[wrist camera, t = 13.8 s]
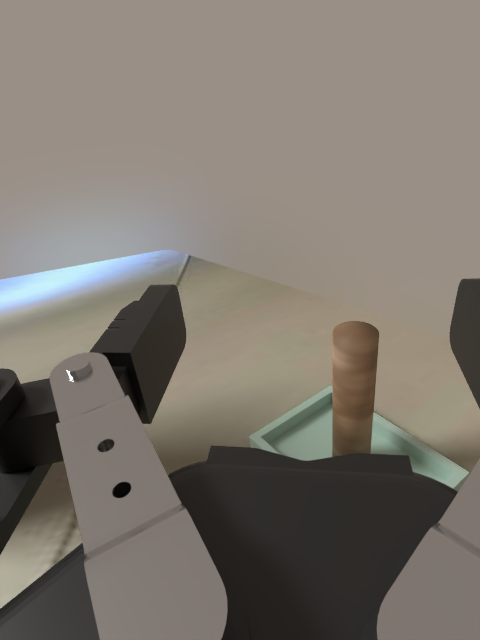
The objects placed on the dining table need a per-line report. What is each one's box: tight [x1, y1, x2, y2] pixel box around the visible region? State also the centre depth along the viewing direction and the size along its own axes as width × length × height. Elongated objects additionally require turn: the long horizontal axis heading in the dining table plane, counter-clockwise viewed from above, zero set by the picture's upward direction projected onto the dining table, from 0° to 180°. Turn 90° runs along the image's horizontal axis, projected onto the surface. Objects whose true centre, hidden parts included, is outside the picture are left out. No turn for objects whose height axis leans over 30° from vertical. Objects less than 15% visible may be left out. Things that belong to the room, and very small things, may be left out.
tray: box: [249, 385, 470, 492], centre depth 37 cm, size 15×11×2 cm
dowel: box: [332, 321, 379, 457], centre depth 34 cm, size 3×3×14 cm
